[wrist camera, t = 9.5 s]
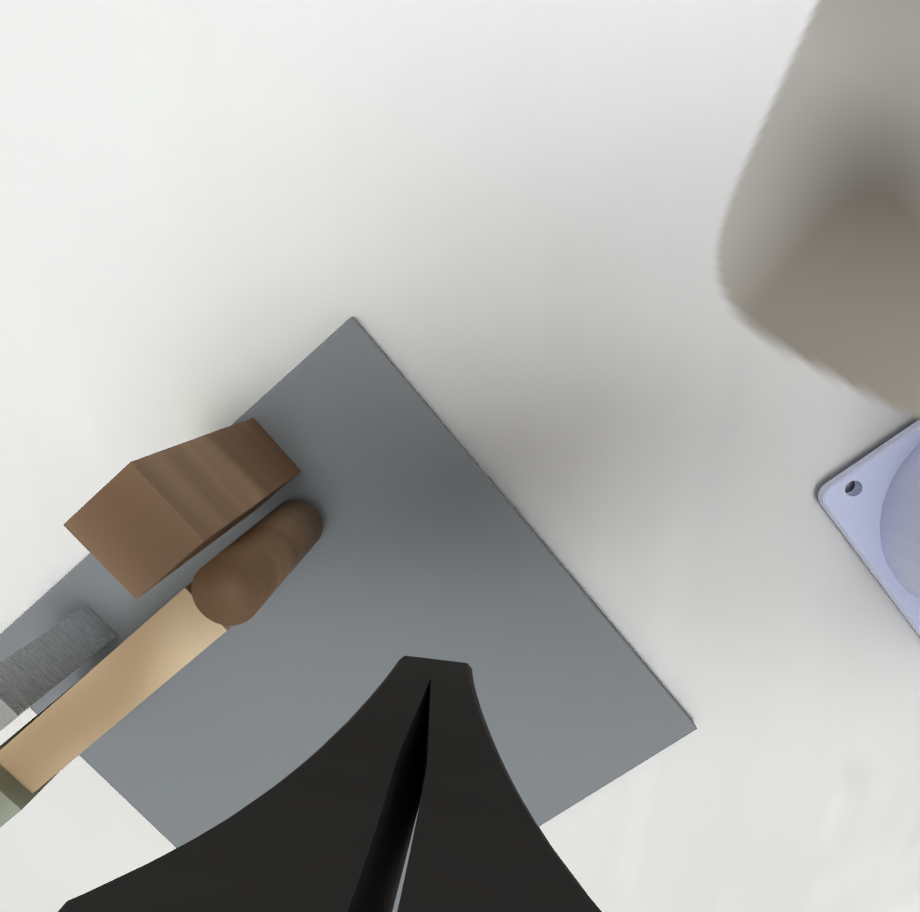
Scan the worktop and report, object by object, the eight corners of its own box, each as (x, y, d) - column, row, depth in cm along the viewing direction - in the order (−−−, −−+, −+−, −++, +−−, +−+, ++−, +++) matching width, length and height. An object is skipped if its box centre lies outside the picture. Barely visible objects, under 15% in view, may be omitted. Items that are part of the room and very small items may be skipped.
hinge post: (258, 415, 20) (130, 462, 13) (305, 468, 20) (204, 540, 13) (211, 458, 20) (63, 524, 13) (257, 509, 20) (136, 599, 14)
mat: (353, 317, 19) (350, 317, 18) (693, 721, 21) (696, 728, 21) (-15, 650, 23) (-24, 656, 22) (308, 960, 25) (304, 971, 24)
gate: (333, 528, 19) (275, 598, 14) (104, 721, 22) (-15, 840, 17) (297, 489, 19) (224, 546, 14) (70, 688, 22) (-62, 798, 16)
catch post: (95, 598, 22) (-23, 677, 17) (125, 629, 22) (17, 715, 17) (68, 622, 22) (-55, 705, 17) (98, 652, 22) (-15, 743, 17)
